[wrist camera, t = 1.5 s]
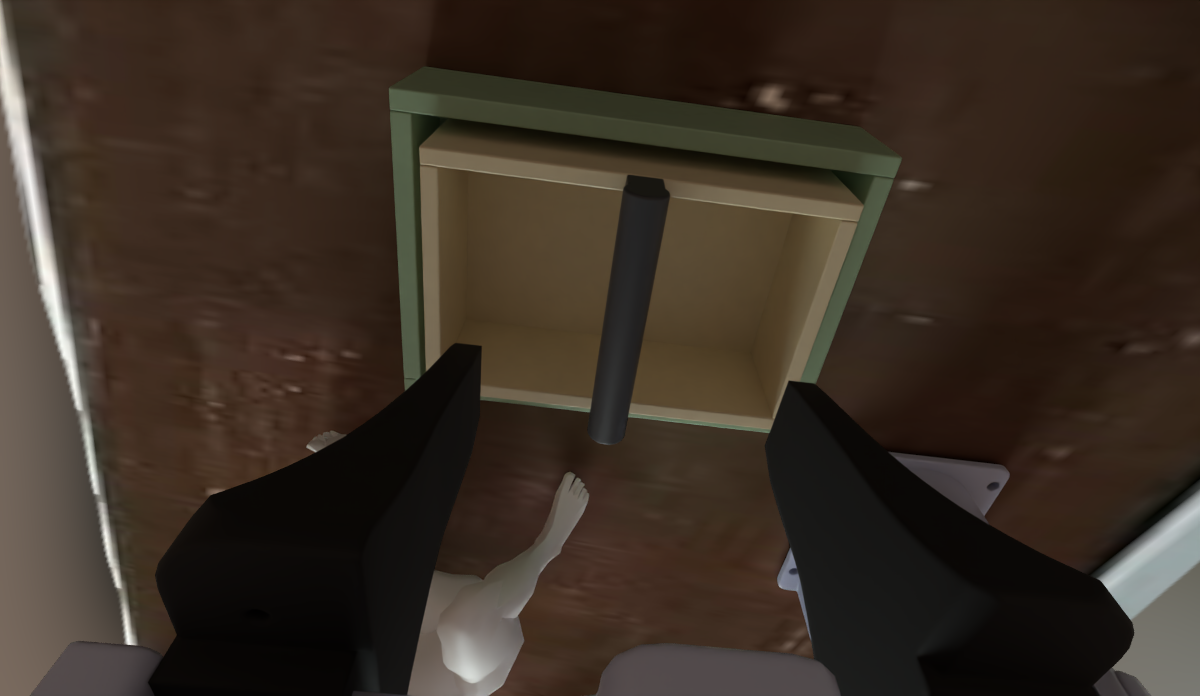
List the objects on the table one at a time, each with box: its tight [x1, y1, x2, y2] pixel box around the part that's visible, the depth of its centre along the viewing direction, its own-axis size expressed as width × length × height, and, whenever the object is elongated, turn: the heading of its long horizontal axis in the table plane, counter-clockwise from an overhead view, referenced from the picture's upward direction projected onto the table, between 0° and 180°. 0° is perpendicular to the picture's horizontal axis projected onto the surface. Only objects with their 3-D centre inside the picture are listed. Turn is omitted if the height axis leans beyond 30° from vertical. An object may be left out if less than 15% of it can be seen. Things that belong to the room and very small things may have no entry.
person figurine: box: [306, 431, 589, 696], centre depth 29 cm, size 13×13×18 cm
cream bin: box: [419, 118, 864, 445], centre depth 20 cm, size 8×12×6 cm, turn 83°
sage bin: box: [389, 66, 902, 433], centre depth 21 cm, size 10×14×4 cm
